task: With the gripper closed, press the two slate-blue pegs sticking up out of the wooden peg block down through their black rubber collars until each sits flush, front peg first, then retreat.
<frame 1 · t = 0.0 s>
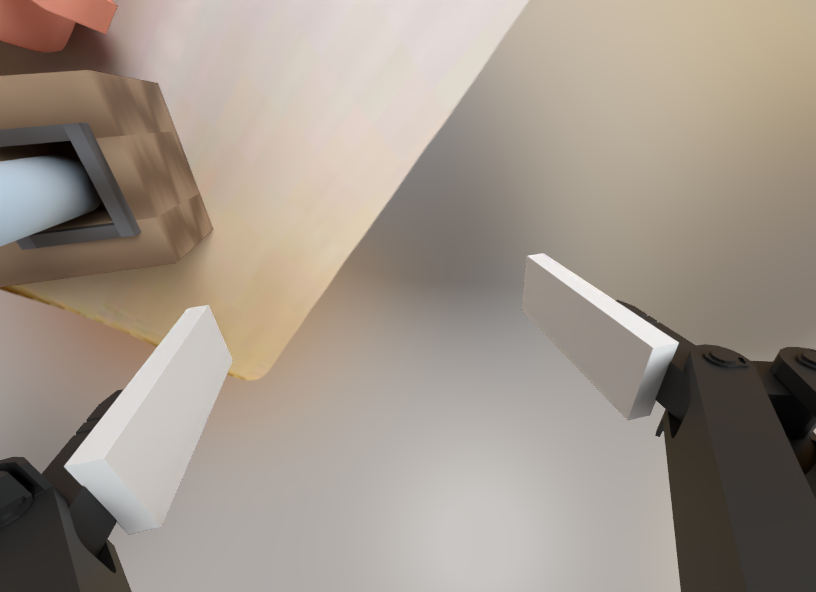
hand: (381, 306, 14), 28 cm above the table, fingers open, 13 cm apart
wooden peg block: (70, 175, 33), on the table
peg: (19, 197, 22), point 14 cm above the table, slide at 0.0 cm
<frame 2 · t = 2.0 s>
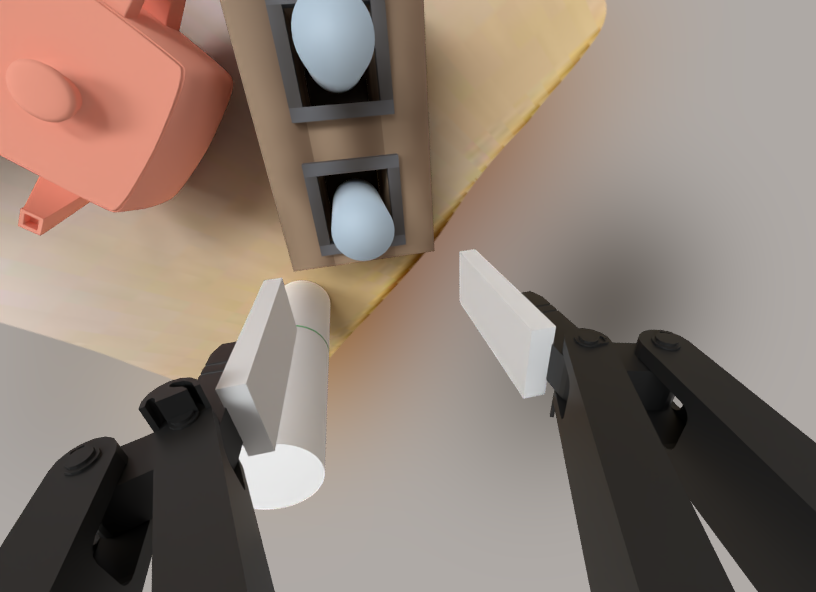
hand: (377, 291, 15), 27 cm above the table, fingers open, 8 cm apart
wooden peg block: (344, 133, 36), on the table
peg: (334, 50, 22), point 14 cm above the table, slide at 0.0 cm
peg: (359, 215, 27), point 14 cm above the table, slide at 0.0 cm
cylindrical container: (303, 303, 45), on the table
teapot: (151, 106, 32), on the table
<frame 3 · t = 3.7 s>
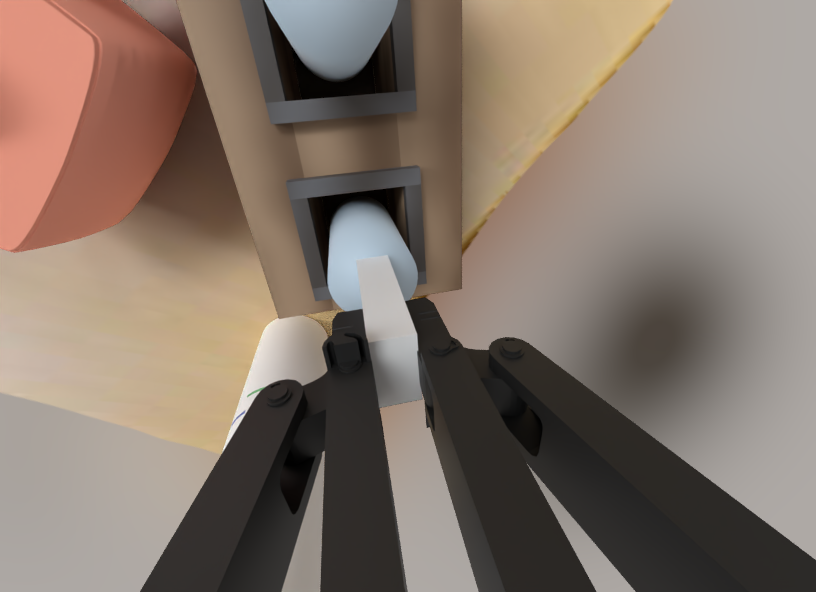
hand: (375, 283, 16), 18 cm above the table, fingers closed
wooden peg block: (345, 136, 28), on the table
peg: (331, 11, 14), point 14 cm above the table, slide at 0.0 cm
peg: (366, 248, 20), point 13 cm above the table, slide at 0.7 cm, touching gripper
cylindrical container: (295, 340, 37), on the table
teapot: (91, 101, 24), on the table
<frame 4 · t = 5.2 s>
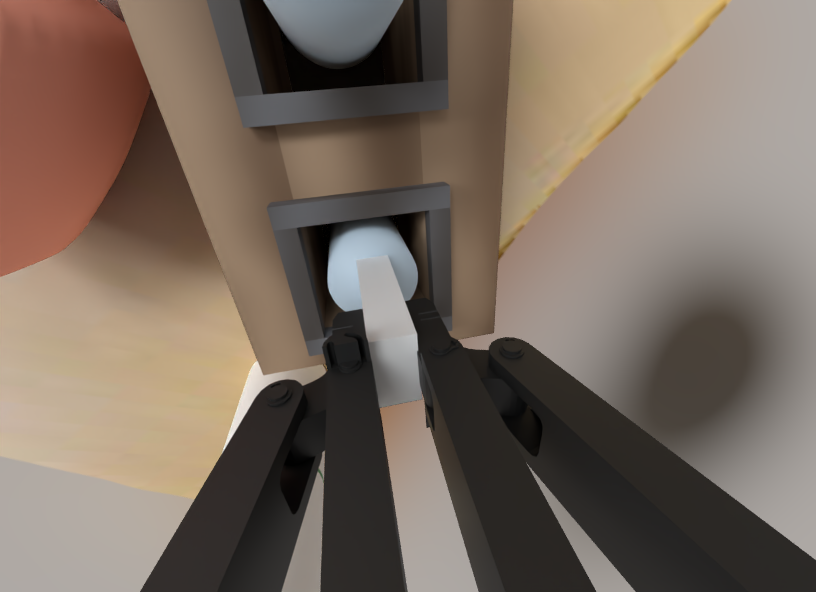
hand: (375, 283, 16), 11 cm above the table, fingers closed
wooden peg block: (347, 141, 23), on the table
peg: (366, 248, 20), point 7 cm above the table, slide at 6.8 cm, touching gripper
cylindrical container: (289, 378, 32), on the table
teapot: (24, 97, 19), on the table
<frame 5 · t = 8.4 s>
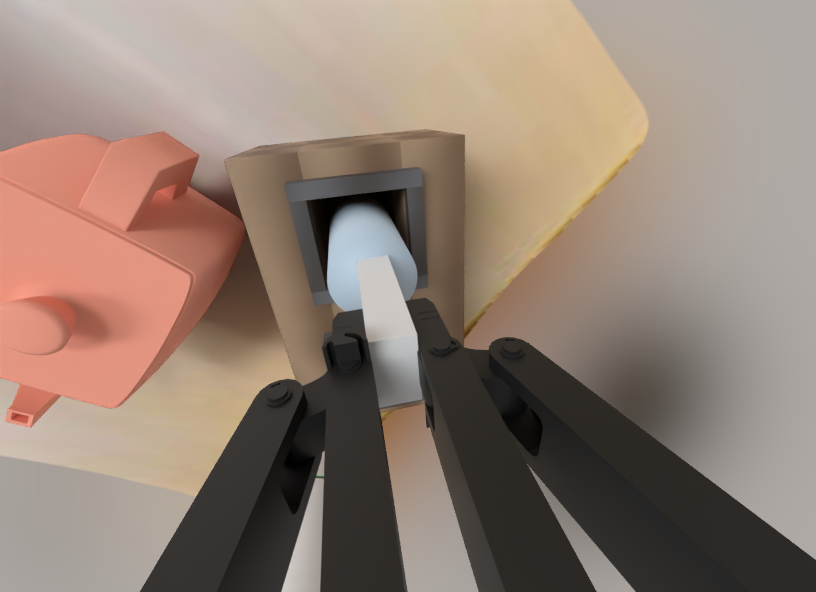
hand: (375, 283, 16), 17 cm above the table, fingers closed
wooden peg block: (364, 258, 33), on the table
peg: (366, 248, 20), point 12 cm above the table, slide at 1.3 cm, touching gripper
cylindrical container: (316, 413, 42), on the table
teapot: (154, 244, 29), on the table
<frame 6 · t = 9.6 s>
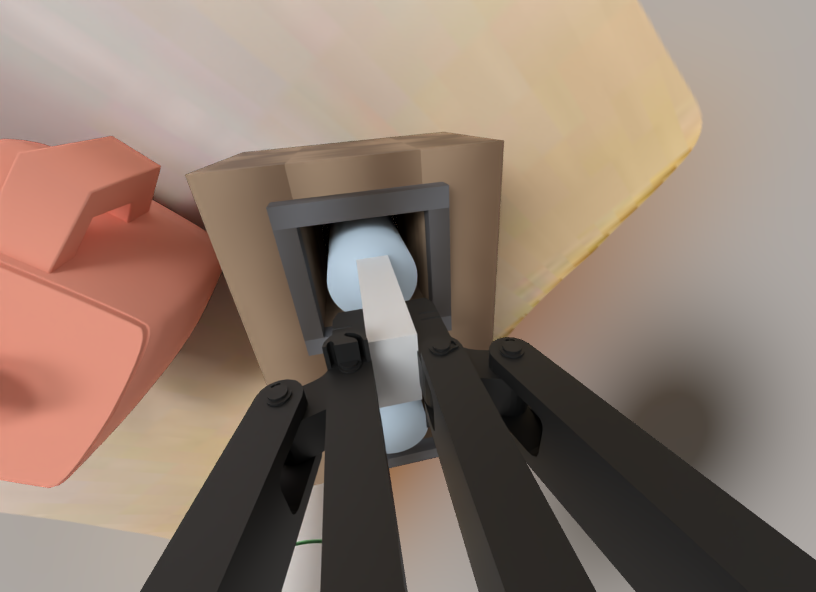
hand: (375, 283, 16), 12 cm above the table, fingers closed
wooden peg block: (368, 281, 29), on the table
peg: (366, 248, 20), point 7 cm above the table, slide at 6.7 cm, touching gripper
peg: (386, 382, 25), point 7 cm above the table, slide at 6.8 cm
cylindrical container: (313, 450, 37), on the table
teapot: (120, 269, 25), on the table
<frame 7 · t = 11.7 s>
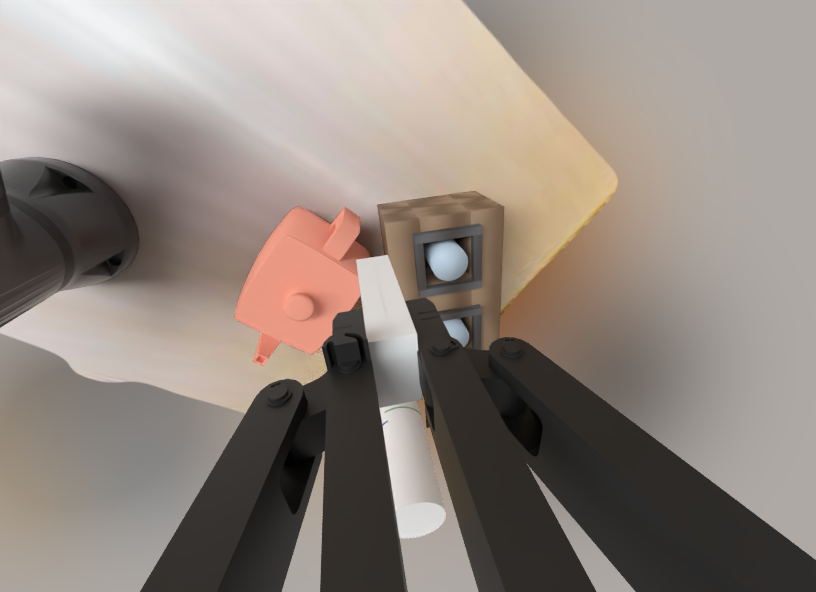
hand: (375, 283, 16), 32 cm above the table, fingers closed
wooden peg block: (431, 269, 52), on the table
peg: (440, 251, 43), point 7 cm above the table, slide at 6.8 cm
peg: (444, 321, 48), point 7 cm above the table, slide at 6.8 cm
cylindrical container: (391, 375, 61), on the table
teapot: (309, 262, 48), on the table
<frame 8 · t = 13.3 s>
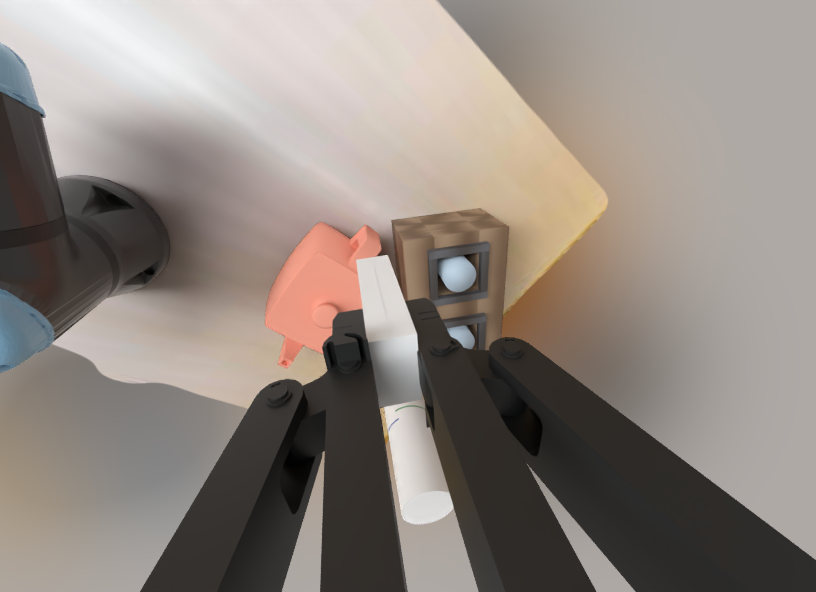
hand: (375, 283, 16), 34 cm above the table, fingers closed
wooden peg block: (438, 278, 56), on the table
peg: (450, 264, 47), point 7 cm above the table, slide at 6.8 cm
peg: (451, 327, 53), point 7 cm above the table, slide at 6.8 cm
cylindrical container: (397, 376, 65), on the table
teapot: (326, 272, 52), on the table
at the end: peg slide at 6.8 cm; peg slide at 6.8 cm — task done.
